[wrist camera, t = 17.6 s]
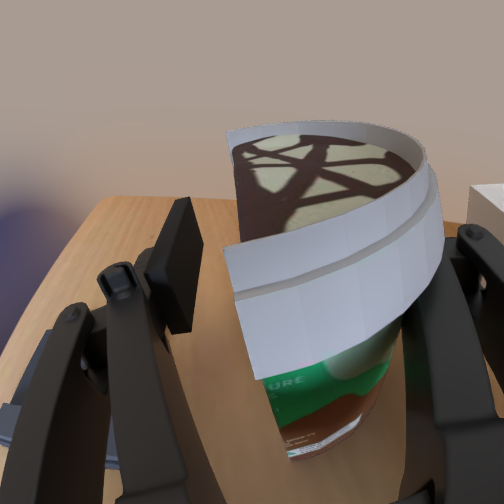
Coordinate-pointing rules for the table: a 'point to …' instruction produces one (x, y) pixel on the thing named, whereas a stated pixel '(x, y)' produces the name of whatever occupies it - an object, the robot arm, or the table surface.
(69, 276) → the table surface
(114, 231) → the table surface
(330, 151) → the food container
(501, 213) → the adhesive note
